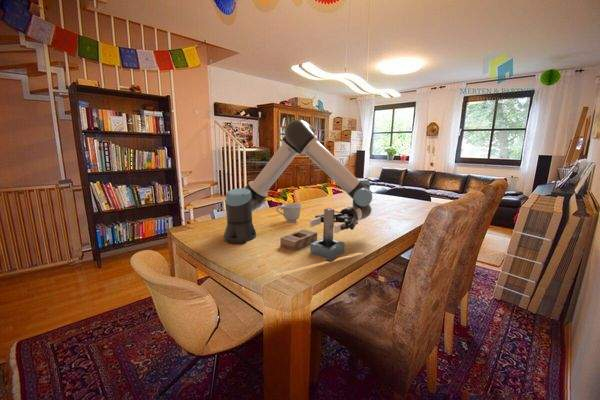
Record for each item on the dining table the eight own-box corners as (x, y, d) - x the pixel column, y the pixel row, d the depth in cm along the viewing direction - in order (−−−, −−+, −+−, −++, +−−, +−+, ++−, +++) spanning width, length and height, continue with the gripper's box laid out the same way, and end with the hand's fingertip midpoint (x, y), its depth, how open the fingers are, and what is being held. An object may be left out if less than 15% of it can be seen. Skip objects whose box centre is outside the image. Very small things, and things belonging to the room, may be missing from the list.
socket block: (330, 262, 99) (331, 249, 98) (310, 255, 105) (310, 243, 104) (344, 254, 106) (344, 242, 105) (324, 248, 112) (324, 237, 111)
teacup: (276, 219, 157) (276, 203, 155) (300, 218, 159) (300, 202, 157) (276, 224, 146) (276, 207, 144) (303, 224, 147) (303, 207, 145)
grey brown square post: (326, 255, 103) (328, 211, 99) (320, 251, 106) (322, 209, 102) (334, 253, 105) (336, 210, 101) (328, 249, 108) (330, 208, 104)
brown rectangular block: (294, 253, 106) (294, 242, 105) (280, 248, 111) (280, 237, 110) (317, 242, 118) (317, 232, 117) (303, 239, 123) (303, 229, 122)
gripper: (374, 228, 110) (348, 242, 93) (328, 218, 124) (299, 229, 108) (375, 211, 108) (349, 222, 92) (328, 203, 123) (299, 212, 106)
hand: (322, 226), depth 100 cm, fingers open, 11 cm apart
